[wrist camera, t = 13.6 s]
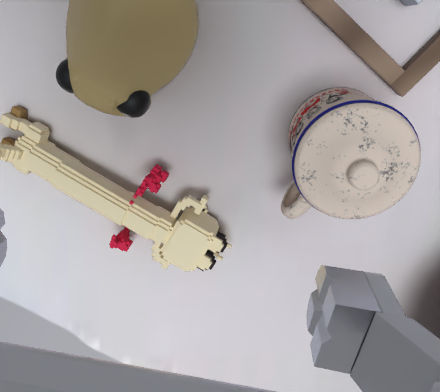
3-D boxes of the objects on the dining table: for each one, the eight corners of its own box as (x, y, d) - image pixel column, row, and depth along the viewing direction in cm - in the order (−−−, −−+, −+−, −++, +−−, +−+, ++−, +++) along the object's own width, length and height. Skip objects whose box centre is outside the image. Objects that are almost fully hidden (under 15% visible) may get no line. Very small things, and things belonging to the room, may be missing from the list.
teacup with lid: (334, 61, 34) (367, 77, 23) (407, 127, 36) (470, 170, 25) (246, 162, 38) (240, 214, 28) (315, 217, 40) (334, 286, 29)
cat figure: (9, 165, 43) (206, 280, 44) (-57, 193, 35) (186, 333, 36) (36, 84, 39) (251, 212, 40) (-31, 94, 31) (242, 254, 32)
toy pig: (73, 70, 36) (4, 85, 27) (117, -68, 32) (53, -110, 22) (168, 119, 37) (135, 151, 28) (224, -7, 33) (209, -22, 23)
